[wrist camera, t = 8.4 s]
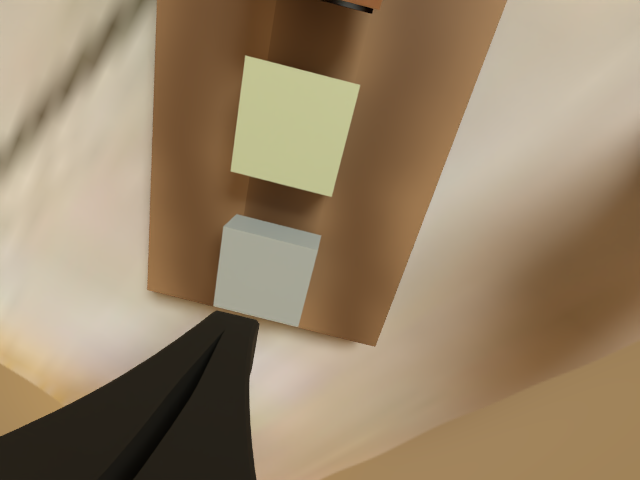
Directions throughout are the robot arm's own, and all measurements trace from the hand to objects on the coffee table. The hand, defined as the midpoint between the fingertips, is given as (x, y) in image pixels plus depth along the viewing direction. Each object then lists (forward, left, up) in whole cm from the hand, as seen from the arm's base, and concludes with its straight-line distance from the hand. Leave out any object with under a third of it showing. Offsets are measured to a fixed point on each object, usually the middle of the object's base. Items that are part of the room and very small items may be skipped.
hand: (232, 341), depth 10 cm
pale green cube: (0, -6, -8) cm, 10 cm away
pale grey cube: (0, 0, -8) cm, 8 cm away
